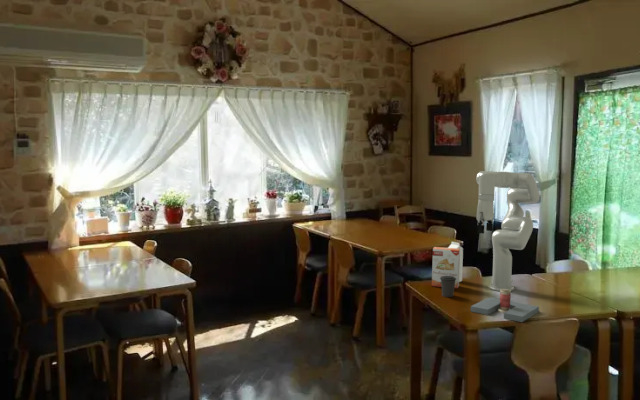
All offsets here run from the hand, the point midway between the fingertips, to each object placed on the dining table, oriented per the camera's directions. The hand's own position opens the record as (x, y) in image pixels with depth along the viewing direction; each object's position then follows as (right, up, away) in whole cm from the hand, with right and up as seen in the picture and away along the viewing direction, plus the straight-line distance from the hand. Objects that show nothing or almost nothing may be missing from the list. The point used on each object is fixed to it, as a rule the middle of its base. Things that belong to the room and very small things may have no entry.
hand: (485, 231), depth 282 cm
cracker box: (-14, -31, +25) cm, 42 cm away
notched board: (+3, -36, -20) cm, 41 cm away
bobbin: (+3, -36, -20) cm, 41 cm away
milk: (-7, -30, +37) cm, 48 cm away
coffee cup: (-17, -33, +7) cm, 38 cm away
